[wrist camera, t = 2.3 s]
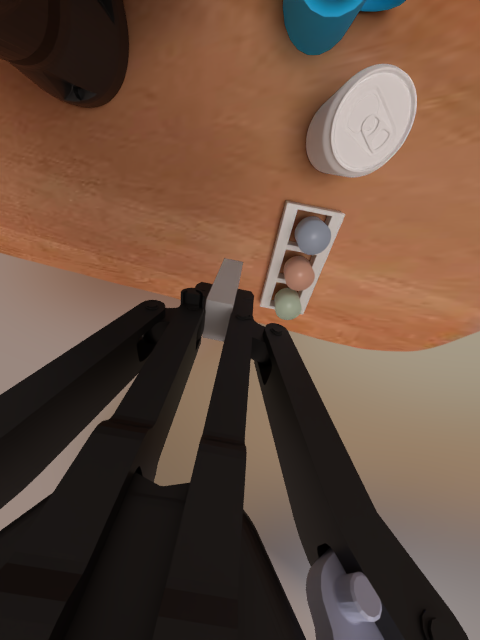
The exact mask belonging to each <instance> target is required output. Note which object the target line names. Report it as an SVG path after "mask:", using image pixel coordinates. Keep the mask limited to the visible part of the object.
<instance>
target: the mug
mask: <svg viewBox="0 0 480 640" xmlns="http://www.w3.org/2000/svg"><path fill="white" fill-rule="evenodd" d="M405 1H406V0H283V13H284V22H285V27H286V30H287V32H288V35H289V38H290V40H291V41H292V43H293V44H294V45H295V46H296V48H297V49H298V50H300V51H301V52H303V53H305V54H307V55H320V54H322V53H324V52H326V51H328V50H330V49H331V48H332V47H334V46H335V45H336V44H337V43H338V42H339V41H340V40H341V39H342V37H343V36H344V34H345V33H346V31H347V30H348V28H349V27H350V25H351V24H352V22H353V21H354V19H355V17H356V16H357V14H358V13H359V11H369V12H377V11H383V10H389V9H392V8H394V7H397V6H399V5H401V4H402V3H403V2H405Z"/></svg>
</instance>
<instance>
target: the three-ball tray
mask: <svg viewBox="0 0 480 640" xmlns="http://www.w3.org/2000/svg"><path fill="white" fill-rule="evenodd" d="M298 209H299V210H304V211H309V212H314V213H319V214H324V215H327V217H326V220H325V224H326V225H327V226H328V227H329V229H330V231H331V240H330V243H329V245H328V246H327V248H326V249H325V250H323V251H322V252H321V253H318V254H315V255H312V257H311V260H310V264H311V266H312V269H313V271H314V273H315V279H314V282H313V283H312V285H311V286H310V287H308V288H307V289H305V290H301V291H298V295H299V299H300V303H301V306H302V310H301V313H300V314H303V313H304V311H305V308H306V306H307V304H308V301H309V299H310V296H311V294H312V292H313V289H314V287H315V285H316V282H317V280H318V278H319V275H320V273H321V270H322V268H323V266H324V263H325V261H326V259H327V256H328V254H329V252H330V249H331V247H332V245H333V242H334V240H335V237H336V235H337V233H338V230H339V228H340V226H341V223H342V221H343V219H344V216H345V214H344V213H343V212H341V211H337V210H332V209H327V208H322V207H317V206H312V205H307V204H302V203H297V202H292V201H287V200H286V202H285V206H284V210H283V213H282V217H281V221H280V225H279V229H278V233H277V237H276V240H275V244H274V248H273V252H272V256H271V260H270V264H269V267H268V271H267V275H266V279H265V283H264V287H263V291H262V294H261V298H260V307H266V308H271V309H275V300H271V298H272V295H273V291H274V288H275V285H276V282H280V283H285V284H286V281H285V276H284V274H282V273H279V271H280V268H281V264H282V261H283V258H284V254H285V251H286V249H287V250H292V251H297V252H302V251H301V250H300V248H299V246H298V244H297V242H292V241H289V237H290V234H291V231H292V227H293V224H294V220H295V217H296V214H297V210H298ZM302 253H303V252H302Z"/></svg>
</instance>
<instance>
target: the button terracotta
mask: <svg viewBox="0 0 480 640" xmlns="http://www.w3.org/2000/svg"><path fill="white" fill-rule="evenodd" d="M284 276H285V281H286V284H287V286H288V287H289V288H290V289H292V290H295V291H301V290H305V289H307V288H308V287H310V286H311V285H312V283H313V282H314V279H315V273H314V271H313V269H312V266H311V264H310V262H309V261H308V259H307V258H305V257H303V256H294V257H292V258H290V259H289V260H288V261H287V262H286V263H285V265H284Z"/></svg>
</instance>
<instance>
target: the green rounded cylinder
mask: <svg viewBox="0 0 480 640" xmlns="http://www.w3.org/2000/svg"><path fill="white" fill-rule="evenodd" d="M274 300H275V311H276V314H277V316H278V317H280V318H281V319H284V320H291V319H294V318H296V317H297V316H299V314H300V313H301V310H302V306H301V303H300V299H299V295H298V293H297V292H296V291H295V290H292V289H290V288H283V289H281V290H279V291H278V292H277V293H276V295H275V298H274Z"/></svg>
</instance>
